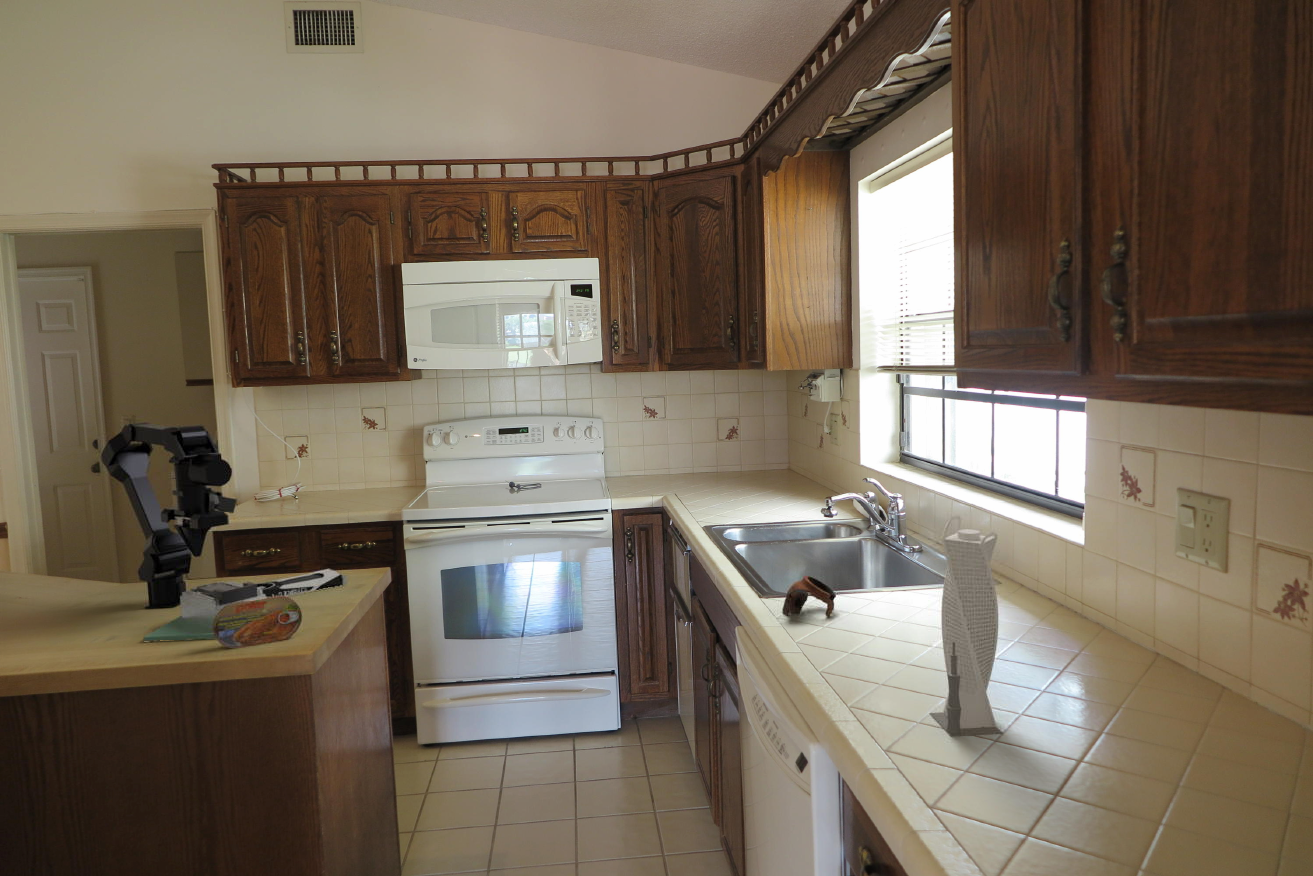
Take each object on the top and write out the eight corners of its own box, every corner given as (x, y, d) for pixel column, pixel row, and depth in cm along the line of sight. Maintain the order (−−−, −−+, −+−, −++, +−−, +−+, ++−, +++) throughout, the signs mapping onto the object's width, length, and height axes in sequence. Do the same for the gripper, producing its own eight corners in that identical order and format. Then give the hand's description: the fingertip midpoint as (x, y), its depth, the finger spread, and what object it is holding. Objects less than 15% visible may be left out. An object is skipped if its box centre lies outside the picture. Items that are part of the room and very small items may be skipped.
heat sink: (182, 619, 167) (178, 583, 167) (231, 607, 175) (228, 573, 174) (216, 632, 158) (213, 594, 157) (267, 618, 166) (264, 582, 165)
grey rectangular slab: (196, 591, 169) (195, 586, 169) (216, 586, 172) (215, 582, 172) (225, 598, 161) (224, 593, 161) (245, 593, 164) (245, 588, 164)
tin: (214, 652, 150) (210, 607, 149) (214, 647, 153) (211, 603, 152) (303, 637, 157) (300, 594, 156) (302, 632, 160) (299, 590, 159)
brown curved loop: (790, 606, 168) (810, 572, 167) (827, 633, 163) (848, 599, 162) (763, 605, 158) (785, 570, 157) (801, 635, 153) (824, 598, 152)
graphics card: (346, 573, 195) (232, 595, 178) (347, 587, 195) (233, 610, 178) (330, 566, 202) (219, 587, 185) (331, 579, 202) (220, 601, 186)
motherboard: (143, 642, 157) (143, 637, 157) (197, 611, 177) (196, 606, 176) (250, 637, 158) (250, 632, 158) (291, 607, 178) (291, 602, 177)
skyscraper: (925, 711, 115) (924, 515, 113) (982, 708, 116) (982, 513, 113) (950, 738, 107) (950, 527, 104) (1010, 735, 107) (1012, 524, 105)
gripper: (250, 481, 175) (256, 553, 176) (210, 477, 186) (215, 544, 188) (196, 489, 166) (202, 564, 167) (156, 483, 177) (163, 554, 179)
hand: (197, 556), depth 176 cm, fingers closed
